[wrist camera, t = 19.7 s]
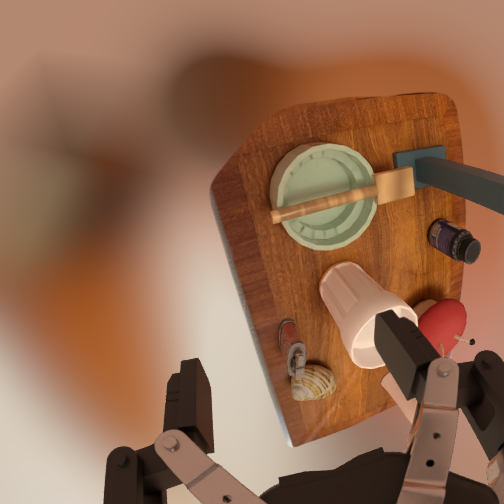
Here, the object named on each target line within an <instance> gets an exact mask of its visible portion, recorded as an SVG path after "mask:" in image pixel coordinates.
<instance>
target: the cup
mask: <svg viewBox="0 0 504 504" xmlns="http://www.w3.org/2000/svg"><path fill="white" fill-rule="evenodd" d="M319 292H320V295H321V298H322V299H323V301H324V303H325V305H326V306H327V308H328V310H329V312H330V313H331V315H332V317H333V319H334V320H335V322H336V324H337V326H338V328H339V329H340V331H341V333H340V335H341V338H342V341H343V344H344V346H345V348H346V350H347V352H348V354H349V356H350V357H351V359H352V361H353V362H354V363H355V364H356V365H358V366H359V367H361V368H368V369H374V368H378V367H382V366H385V363H384V361H383V360H382V358H381V356H380V355H379V353H378V352H377V350H376V347H375V344H374V328H375V316H376V314H378V313H381V312H384V311H387V310H390V309H392V310H393V311H394V312H395V313H396V314H397V316H398V317H399V318H401V317H403V316H404V317H406V318H408V319H409V320H411V321H413V322H414V323H415V325H416V326H417V327H418V321H417V315H416V313H415V312H414V311H413V310H412V308H411V307H410V306H408V305H407V304H406V303H405V302H404V301H403V300H402V299H401V298H400V297H399V296H397V295H396V294H394V293H391V292H388V291H385V290H384V289H383V288H382V287H381V286H380V285H379V284H378V283H377V282H376V281H375V280H373V279H372V278H371V277H370V276H369V275H368V274H367V273H366V272H365V271H364V270H363V269H362V268H361V267H360V266H359V265H358V264H357V263H354V262H352V261H340V262H338V263H335V264H333V265H331V266H330V267H329V268H328V269H327V270H326V271H325V272H324V274H323V275H322V277H321V279H320V281H319Z"/></svg>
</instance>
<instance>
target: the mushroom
mask: <svg viewBox="0 0 504 504" xmlns="http://www.w3.org/2000/svg"><path fill="white" fill-rule="evenodd" d="M412 310H413V311H414V312H415V313H416V315H417V321H418V328H419V330H420V331H421V332H422V333H423V334H424V336H425V337H426V338H427V339H428V340H429V342H430V343H431V344H432V345H433V347H434V348H435V349H436V351H437V352H438V353H439V354H440V356H441V357H443V356H445V355H446V354H447V353H448V352H450V351H451V350H452V349H453V348H454V346H455V345H456V344H457V342H458V341H459V340H461V341H464V342H469V343H470V345H473V344H475V340H474V339H471V340H470V341H467V340H465V339H464V338H462V337H461V336H462V334H463V332H464V329H465V326H466V317H467V314H466V311H465V308H464V305H463V304H462V303H461V302H459V301H458V300H456V299H444V300H441V301H438V302H436V301H434V300H432V299H425V300H421V301H419V302H418V303H417V304H415V305H414V306H413V308H412Z"/></svg>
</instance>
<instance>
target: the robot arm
mask: <svg viewBox="0 0 504 504" xmlns="http://www.w3.org/2000/svg"><path fill="white" fill-rule="evenodd" d="M374 344H375V347H376V350H377V352H378V353H379V355H380V356H381V358H382V360H383V361H384V363H385V365H386V366H387V368H388V370H389V371H390V373H391V374H392V376H393V378H394V379H395V381H396V383H397V384H398V386H399V388H400V390H401V391H402V393H403V395H404V396H405V398H406V400H407V401H409V400H411V399H413V398H416V400H417V405H416V410H415V414H414V418H413V423H412V427H411V430H410V434H409V438H408V441H407V444H406V447H405V450H404V452H403V453H401V452H384V451H383V448H382V447H381V448H378V449H375V450H372V451H370V452H367V453H364V454H361V455H359V456H357V457H355V458H353V459H352V460H350V461H348V462H347V463H345V464H344V465H341V466H340V467H338V468H336V469H334V470H327V471H308V472H306V471H305V472H301V473H297V474H292V475H288V476H283V477H279V484H277V485H274V486H273V487H271V488H269V489H268V490H267V491H265V492H264V493H263V494H262V495H260V496H259V497H258V496H257V495H255V494H254V493H253V492H251V491H250V490H249V489H248V488H246V487H245V486H244V485H243V484H241V483H240V482H239V481H238V480H237V479H236V478H234V477H233V476H232V475H231V474H230V473H229V472H227V471H226V470H225V469H224V468H223V467H222V466H220V465H219V464H216V463H215V462H214V461H213V460H212V459H211V458H209V457H208V456H207V454H208V453H214V438H213V420H212V398H211V387H210V383H209V380H208V378H207V376H206V373H205V371H204V369H203V367H202V364H201V362H200V360H199V359H198V358H194V359H189V360H183V361H181V370H180V373H175V374H172V376H171V378H170V379H169V381H168V383H167V395H166V403H165V415H164V427H163V433H162V434H160V435H159V436H158V438H157V439H156V441H155V443H154V444H152V445H150V446H148V447H145V448H142V449H139V450H136V451H134V450H133V449H131V448H129V447H125V446H124V447H118V448H116V449H114V450H113V451H112V452H111V453H110V454H109V456H108V458H107V465H106V475H105V487H104V504H167V493H166V492H167V491H166V489H168V488H171V487H174V486H177V485H180V484H182V483H183V484H184V485H185V486H186V487H187V489H188V490H189V491H190V492H191V493H192V494H193V495H194V496H195V497H196V498H197V499H198V500H199V501H200V502H201V503H202V504H504V362H503V361H502V359H501V358H500V357H499V356H498V355H497V354H496V353H495V352H493V351H489V350H485V351H481V352H479V353H478V354H477V355H476V357H475V359H474V361H470V362H464V363H456V362H455V361H453V360H452V359H450V358H446V357H441V356H440V354H439V353H438V352H437V351H436V349H435V348H434V347H433V345H432V344H431V343H430V342H429V340H428V339H427V338H426V337H425V336H424V334H423V333H422V332H421V331H420V330H419V328H418V327H417V326H416V325H415V323H414V322H413V321H411V320H409V319H408V318H406V317H404V316H403V317H401V318H399V317H398V316H397V314H396V313H395V312H394V311H393V310H392V309H390V310H387V311H384V312H381V313H378V314H376V316H375V328H374ZM458 408H461V409H462V411H463V413H464V414H465V416H466V418H467V420H468V421H469V423H470V425H471V427H472V429H473V431H474V432H475V434H476V436H477V438H478V440H479V442H480V444H481V445H482V447H483V449H484V451H485V453H486V455H487V457H488V459H489V461H490V462H489V464H488V466H487V480H488V486H487V485H486V484H483V483H480V482H477V481H474V480H471V479H469V478H466V477H463V476H460V475H458V474H455V473H453V472H450V471H449V468H450V463H451V459H452V454H453V448H454V442H455V437H456V430H457V423H458V415H459V411H458Z"/></svg>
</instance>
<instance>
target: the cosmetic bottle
mask: <svg viewBox="0 0 504 504" xmlns="http://www.w3.org/2000/svg"><path fill="white" fill-rule="evenodd" d="M381 385H382V386H383V387H384V388H385V389H386V390H387V392H388V393H389V394H390V395H391V396H392V398H393V399H394V400H395V402H396V403H397V404H398V406H399V407H400V408H401V410H402V412H403V413H404V414H405V416H406V417H407V419H408V420H409V422H410V423H411V424H412V423H413V418H414V414H415V410H416V405H417V401H416V400H415V398H413V399H411V400H409V401H407V400H406V398H405V396H404V395H403V393H402V391H401V390H400V388H399V386H398V384H397V383H396V381H395V379H394V378H393V376H392V374H391V373H390V372H389V373H388V374H387V375H385V376H384V378H383V379H382V381H381Z"/></svg>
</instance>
